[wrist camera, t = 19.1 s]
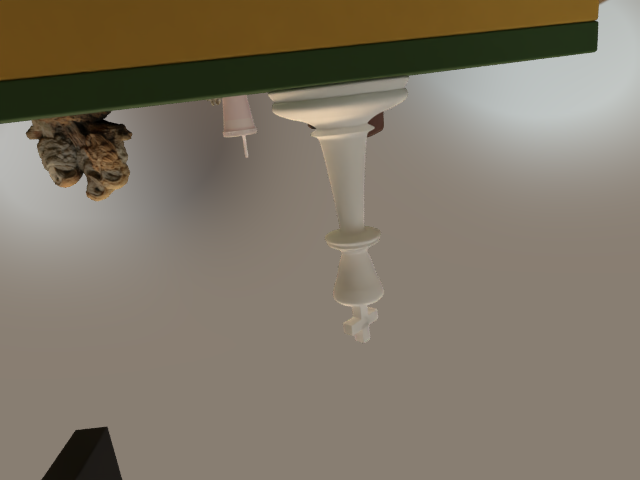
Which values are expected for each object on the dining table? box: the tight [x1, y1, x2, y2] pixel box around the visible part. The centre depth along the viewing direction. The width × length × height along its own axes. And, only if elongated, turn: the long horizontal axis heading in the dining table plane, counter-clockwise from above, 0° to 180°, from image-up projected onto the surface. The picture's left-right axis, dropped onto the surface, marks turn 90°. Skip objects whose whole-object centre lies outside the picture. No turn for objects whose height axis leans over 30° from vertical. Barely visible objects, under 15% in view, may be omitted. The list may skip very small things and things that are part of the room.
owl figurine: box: [26, 111, 132, 201], centre depth 82 cm, size 18×12×17 cm, turn 105°
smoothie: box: [223, 95, 257, 158], centre depth 93 cm, size 6×6×14 cm
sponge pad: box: [0, 0, 599, 124], centre depth 17 cm, size 20×13×3 cm, turn 75°
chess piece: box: [268, 76, 409, 343], centre depth 19 cm, size 5×5×10 cm
